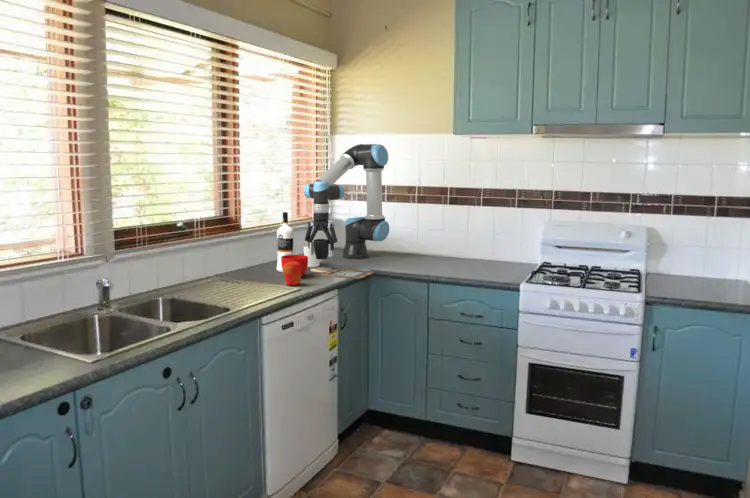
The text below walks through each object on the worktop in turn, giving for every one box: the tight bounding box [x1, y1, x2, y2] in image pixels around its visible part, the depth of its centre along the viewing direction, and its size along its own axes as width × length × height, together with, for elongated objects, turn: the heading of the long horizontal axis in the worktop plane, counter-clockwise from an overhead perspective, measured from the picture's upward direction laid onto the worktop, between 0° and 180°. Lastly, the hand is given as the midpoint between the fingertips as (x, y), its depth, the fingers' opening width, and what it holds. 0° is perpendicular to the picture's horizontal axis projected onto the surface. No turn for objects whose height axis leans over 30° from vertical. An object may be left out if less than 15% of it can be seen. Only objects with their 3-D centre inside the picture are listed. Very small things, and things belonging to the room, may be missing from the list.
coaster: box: [309, 267, 333, 274], centre depth 320 cm, size 11×11×1 cm
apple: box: [283, 259, 302, 286], centre depth 283 cm, size 9×8×12 cm
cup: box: [303, 245, 324, 268], centre depth 334 cm, size 8×12×10 cm
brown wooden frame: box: [320, 267, 376, 280], centre depth 311 cm, size 19×21×1 cm
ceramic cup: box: [281, 254, 308, 278], centre depth 303 cm, size 13×17×10 cm
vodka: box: [276, 211, 295, 273], centre depth 315 cm, size 9×9×30 cm
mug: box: [313, 238, 330, 261], centre depth 318 cm, size 8×12×10 cm
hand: (321, 255), depth 318 cm, fingers closed on mug, 10 cm apart
